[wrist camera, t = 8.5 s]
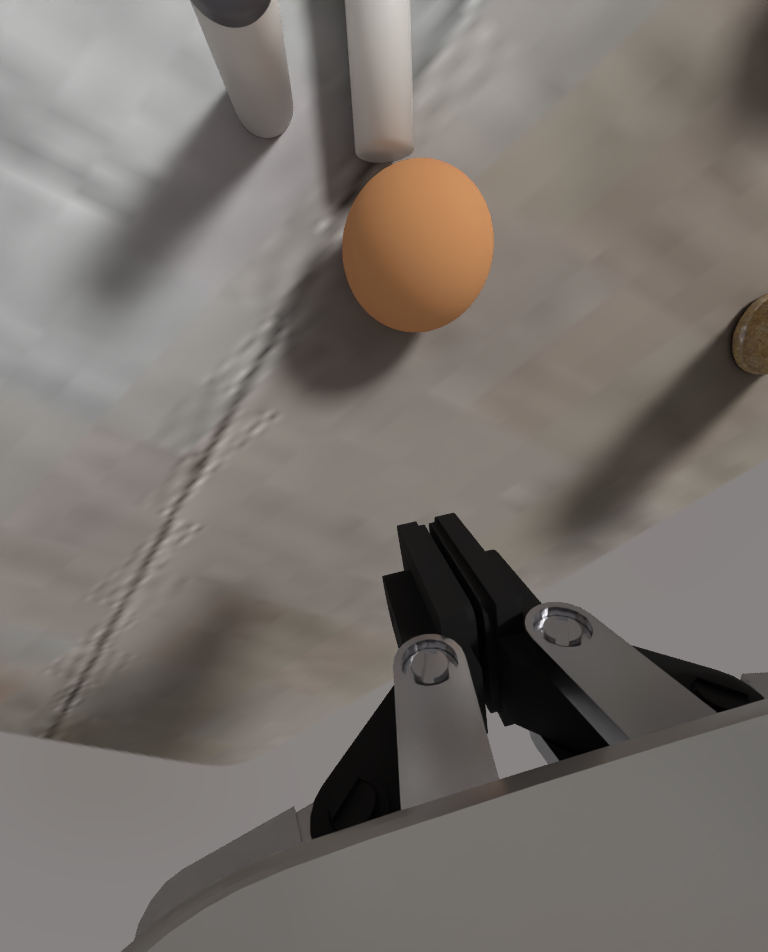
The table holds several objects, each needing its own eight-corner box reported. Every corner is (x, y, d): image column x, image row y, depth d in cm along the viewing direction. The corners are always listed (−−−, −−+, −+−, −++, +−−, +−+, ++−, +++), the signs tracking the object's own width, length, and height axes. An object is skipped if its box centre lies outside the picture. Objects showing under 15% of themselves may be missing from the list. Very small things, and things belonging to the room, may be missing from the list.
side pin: (241, 143, 16) (148, -65, 8) (223, 66, 15) (97, -262, 7) (300, 135, 16) (272, -78, 8) (285, 58, 16) (237, -270, 7)
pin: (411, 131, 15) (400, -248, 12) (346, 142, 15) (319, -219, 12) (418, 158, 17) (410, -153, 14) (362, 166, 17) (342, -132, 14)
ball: (336, 110, 13) (329, 262, 19) (365, 234, 11) (348, 365, 17) (494, 126, 15) (445, 264, 20) (546, 239, 13) (476, 359, 18)
